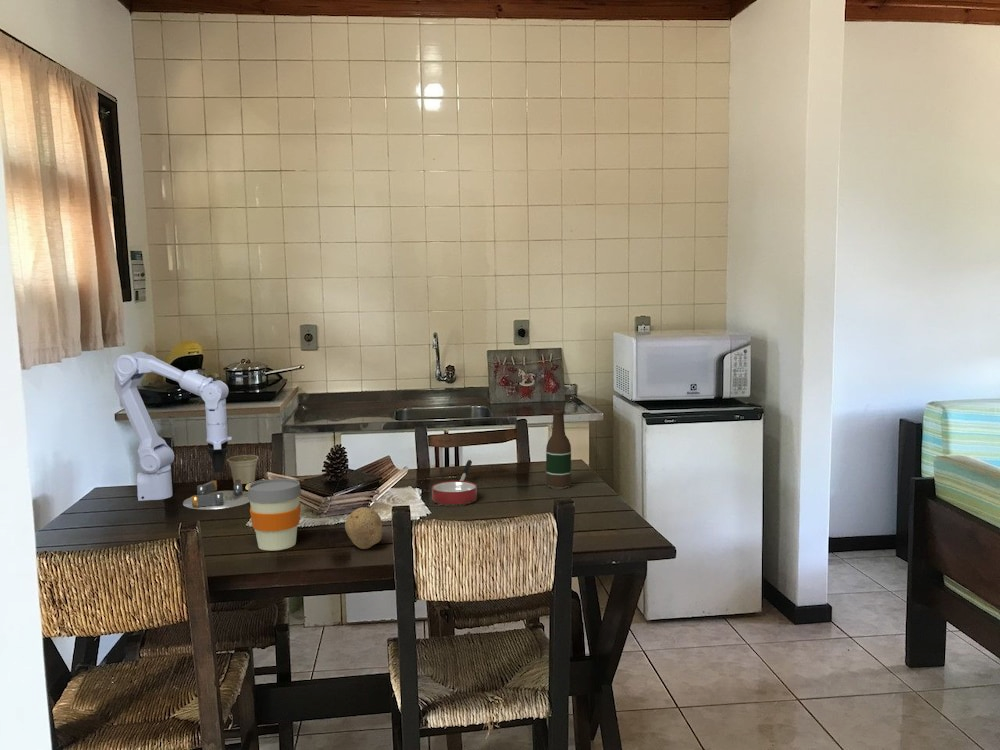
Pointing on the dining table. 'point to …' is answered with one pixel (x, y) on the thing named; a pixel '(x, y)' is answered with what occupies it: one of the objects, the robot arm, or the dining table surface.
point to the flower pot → (243, 467)
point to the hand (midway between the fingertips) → (218, 469)
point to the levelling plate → (228, 498)
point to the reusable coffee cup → (275, 512)
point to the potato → (364, 527)
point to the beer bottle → (558, 453)
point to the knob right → (237, 487)
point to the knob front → (207, 500)
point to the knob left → (207, 488)
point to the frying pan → (455, 490)
